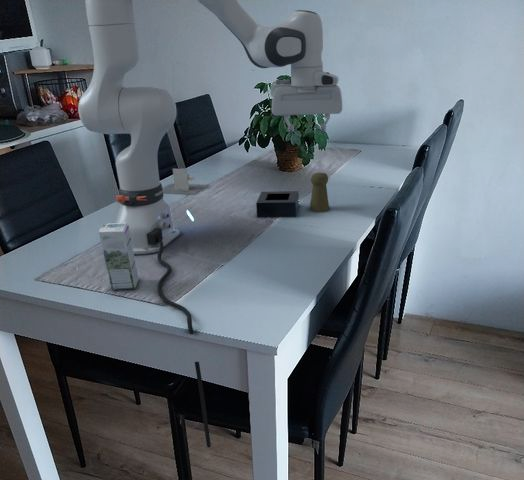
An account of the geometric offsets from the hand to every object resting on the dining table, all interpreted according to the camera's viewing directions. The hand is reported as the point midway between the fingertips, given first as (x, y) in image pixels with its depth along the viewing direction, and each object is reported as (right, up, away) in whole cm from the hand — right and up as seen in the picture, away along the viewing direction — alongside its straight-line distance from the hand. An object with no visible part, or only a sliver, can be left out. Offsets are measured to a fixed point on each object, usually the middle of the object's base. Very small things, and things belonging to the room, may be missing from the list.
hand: (307, 131), depth 158 cm
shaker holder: (-8, -20, +13) cm, 25 cm away
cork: (+5, -20, +12) cm, 24 cm away
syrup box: (-46, -49, -29) cm, 73 cm away
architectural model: (-42, -5, +41) cm, 59 cm away
